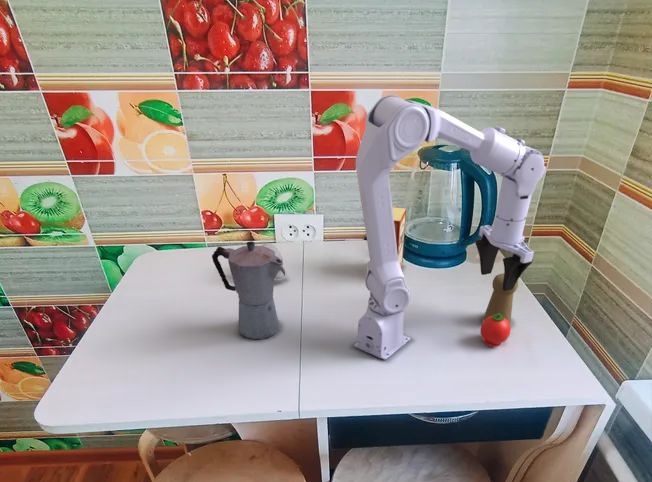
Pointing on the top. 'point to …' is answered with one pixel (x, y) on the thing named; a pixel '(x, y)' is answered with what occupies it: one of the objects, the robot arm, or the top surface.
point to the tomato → (495, 330)
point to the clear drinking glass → (278, 254)
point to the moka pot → (252, 287)
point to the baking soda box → (399, 230)
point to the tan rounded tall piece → (500, 299)
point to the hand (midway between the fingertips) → (496, 281)
